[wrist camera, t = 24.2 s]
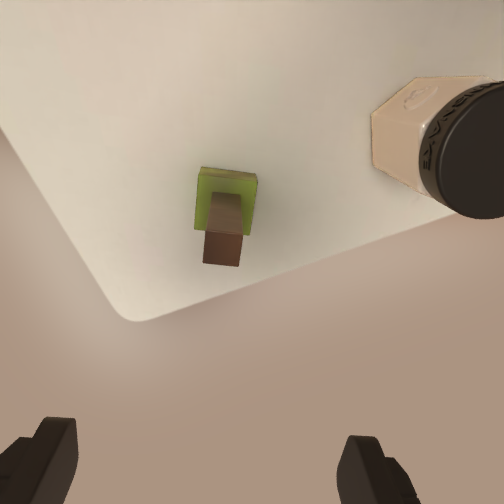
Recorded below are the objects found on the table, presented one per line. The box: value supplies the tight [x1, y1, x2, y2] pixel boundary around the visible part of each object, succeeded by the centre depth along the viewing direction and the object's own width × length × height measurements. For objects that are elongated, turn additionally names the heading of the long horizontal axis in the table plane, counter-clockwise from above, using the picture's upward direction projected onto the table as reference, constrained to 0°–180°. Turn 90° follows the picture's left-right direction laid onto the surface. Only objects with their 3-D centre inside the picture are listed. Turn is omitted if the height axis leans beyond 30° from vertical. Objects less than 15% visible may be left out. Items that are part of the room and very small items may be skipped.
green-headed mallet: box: [194, 167, 258, 267], centre depth 29 cm, size 5×5×12 cm
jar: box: [371, 76, 504, 219], centre depth 27 cm, size 9×8×12 cm
